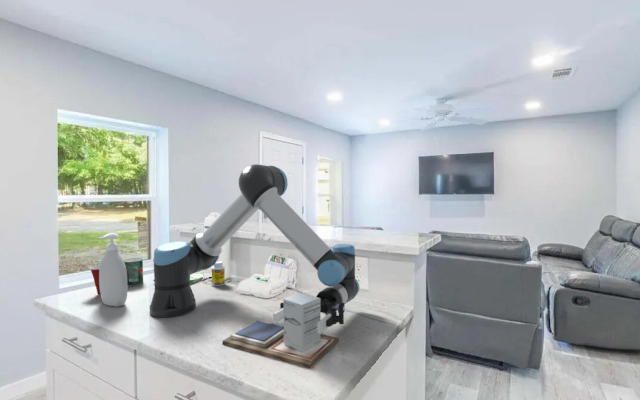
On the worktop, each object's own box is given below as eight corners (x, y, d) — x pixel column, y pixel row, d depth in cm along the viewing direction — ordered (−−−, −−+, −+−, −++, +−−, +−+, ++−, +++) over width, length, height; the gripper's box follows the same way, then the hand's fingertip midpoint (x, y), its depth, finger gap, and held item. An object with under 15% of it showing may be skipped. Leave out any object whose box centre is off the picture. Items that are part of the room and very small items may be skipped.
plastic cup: (114, 288, 149) (113, 260, 148) (125, 292, 143) (125, 263, 142) (85, 294, 140) (84, 265, 140) (97, 299, 134) (95, 269, 133)
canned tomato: (120, 284, 154) (119, 260, 154) (137, 280, 161) (136, 257, 160) (129, 287, 150) (128, 262, 149) (146, 283, 156) (146, 259, 156)
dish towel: (218, 276, 168) (218, 271, 168) (179, 289, 147) (178, 283, 147) (192, 272, 176) (191, 267, 176) (151, 284, 155) (151, 278, 155)
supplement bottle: (213, 287, 148) (213, 264, 148) (210, 284, 153) (209, 261, 153) (226, 285, 151) (226, 262, 151) (222, 282, 156) (222, 260, 156)
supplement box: (282, 344, 92) (282, 298, 91) (302, 335, 97) (301, 291, 97) (302, 353, 87) (301, 304, 86) (321, 343, 93) (321, 297, 92)
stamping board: (222, 344, 95) (222, 335, 95) (258, 323, 109) (258, 316, 109) (310, 368, 82) (310, 359, 82) (338, 341, 96) (338, 333, 96)
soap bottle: (89, 305, 127) (86, 233, 126) (111, 298, 135) (108, 230, 133) (112, 311, 121) (110, 235, 120) (134, 304, 128) (132, 232, 127)
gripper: (369, 317, 102) (339, 347, 83) (298, 304, 114) (257, 328, 95) (369, 292, 102) (339, 317, 83) (297, 282, 113) (257, 301, 95)
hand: (295, 323), depth 89 cm, fingers open, 13 cm apart
